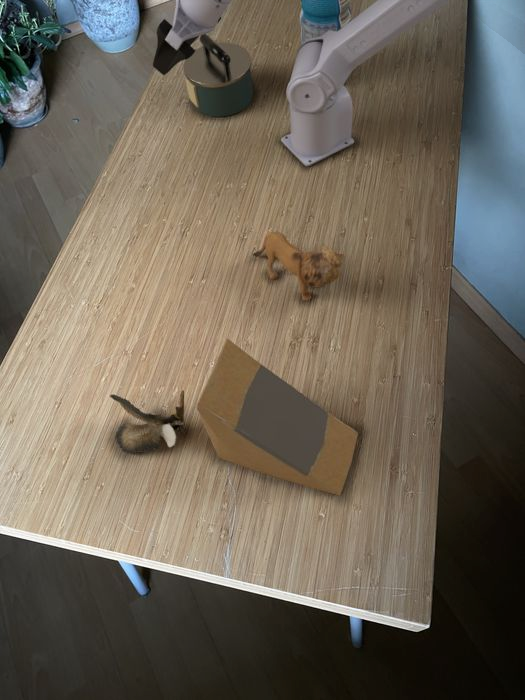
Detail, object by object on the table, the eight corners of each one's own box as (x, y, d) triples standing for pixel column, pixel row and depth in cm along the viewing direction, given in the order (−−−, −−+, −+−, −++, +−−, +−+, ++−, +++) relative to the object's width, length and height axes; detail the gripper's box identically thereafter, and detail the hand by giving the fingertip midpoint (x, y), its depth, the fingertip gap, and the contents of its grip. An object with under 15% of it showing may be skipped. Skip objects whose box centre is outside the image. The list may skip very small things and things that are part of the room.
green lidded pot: (234, 67, 109) (227, 16, 101) (267, 99, 104) (262, 47, 96) (179, 92, 107) (167, 41, 99) (210, 126, 102) (200, 75, 93)
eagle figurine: (184, 387, 75) (111, 389, 74) (184, 392, 68) (104, 395, 67) (185, 446, 75) (113, 450, 74) (186, 458, 68) (106, 462, 67)
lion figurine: (348, 288, 82) (351, 245, 74) (328, 314, 80) (328, 273, 72) (263, 245, 87) (257, 201, 80) (241, 269, 85) (233, 227, 78)
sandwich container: (341, 498, 67) (345, 451, 54) (217, 459, 71) (194, 406, 58) (360, 431, 71) (368, 372, 58) (242, 398, 75) (225, 335, 62)
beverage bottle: (308, 93, 104) (306, -26, 87) (296, 65, 108) (291, -54, 91) (354, 83, 104) (361, -38, 87) (340, 55, 109) (344, -65, 92)
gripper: (211, -60, 81) (168, 14, 91) (166, -15, 73) (125, 61, 83) (250, -21, 83) (204, 47, 94) (211, 27, 75) (166, 96, 86)
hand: (170, 56), depth 89 cm, fingers open, 7 cm apart
